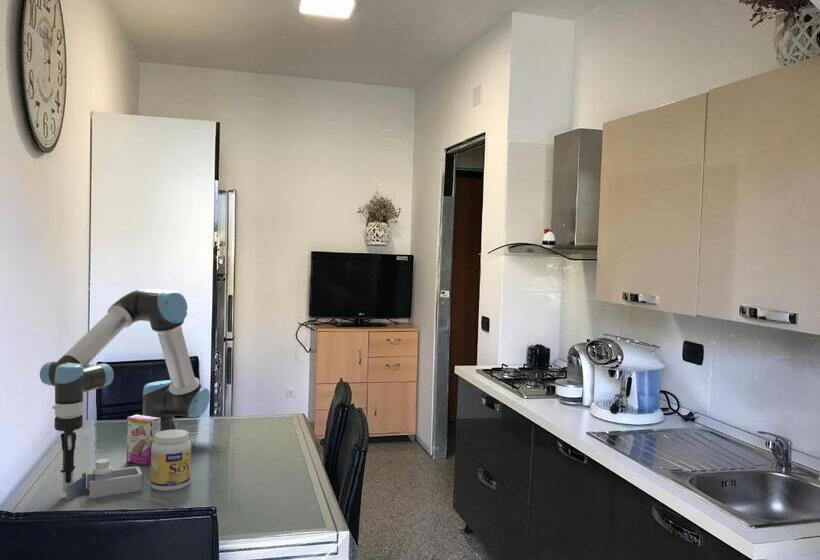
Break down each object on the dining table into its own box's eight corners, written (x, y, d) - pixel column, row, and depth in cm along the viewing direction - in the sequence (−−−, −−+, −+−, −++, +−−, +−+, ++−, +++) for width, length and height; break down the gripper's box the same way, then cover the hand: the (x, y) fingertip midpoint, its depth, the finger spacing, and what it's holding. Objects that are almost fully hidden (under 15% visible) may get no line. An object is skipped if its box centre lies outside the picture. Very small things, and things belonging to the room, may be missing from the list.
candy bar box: (125, 462, 222) (126, 417, 222) (136, 458, 227) (136, 413, 226) (151, 467, 218) (151, 420, 218) (161, 462, 223) (161, 417, 223)
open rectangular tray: (138, 481, 205) (138, 466, 204) (142, 490, 197) (143, 474, 197) (86, 489, 197) (86, 473, 196) (89, 498, 189) (89, 482, 189)
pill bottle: (97, 488, 198) (97, 457, 197) (114, 488, 198) (115, 457, 198) (89, 494, 192) (90, 463, 192) (107, 494, 193) (108, 463, 192)
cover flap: (86, 488, 197) (87, 472, 197) (69, 500, 187) (69, 483, 187) (83, 488, 197) (83, 472, 197) (65, 500, 187) (65, 483, 187)
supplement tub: (166, 495, 193) (167, 441, 193) (142, 486, 200) (142, 434, 199) (198, 483, 204) (199, 432, 203) (174, 476, 210) (175, 426, 210)
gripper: (53, 411, 193) (52, 486, 194) (55, 422, 182) (54, 501, 183) (81, 408, 197) (80, 482, 198) (84, 419, 186) (83, 497, 187)
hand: (67, 491), depth 191 cm, fingers closed
